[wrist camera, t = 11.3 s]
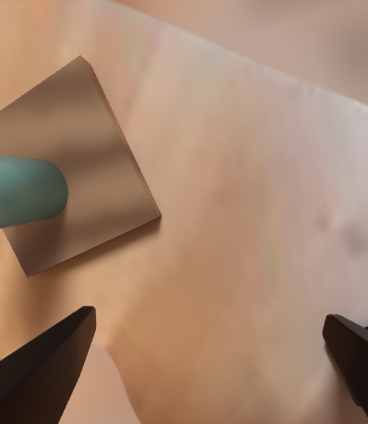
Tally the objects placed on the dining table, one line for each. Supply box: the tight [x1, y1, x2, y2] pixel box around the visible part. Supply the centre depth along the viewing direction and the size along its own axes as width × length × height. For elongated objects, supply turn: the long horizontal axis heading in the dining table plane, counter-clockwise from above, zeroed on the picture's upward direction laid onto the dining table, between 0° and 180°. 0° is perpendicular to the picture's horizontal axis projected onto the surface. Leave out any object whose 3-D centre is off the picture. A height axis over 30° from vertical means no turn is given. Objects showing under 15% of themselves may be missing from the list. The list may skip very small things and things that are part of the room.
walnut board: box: [0, 55, 162, 278], centre depth 20 cm, size 15×15×2 cm
